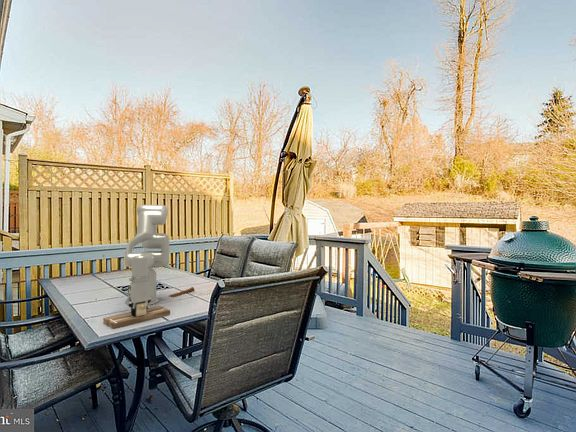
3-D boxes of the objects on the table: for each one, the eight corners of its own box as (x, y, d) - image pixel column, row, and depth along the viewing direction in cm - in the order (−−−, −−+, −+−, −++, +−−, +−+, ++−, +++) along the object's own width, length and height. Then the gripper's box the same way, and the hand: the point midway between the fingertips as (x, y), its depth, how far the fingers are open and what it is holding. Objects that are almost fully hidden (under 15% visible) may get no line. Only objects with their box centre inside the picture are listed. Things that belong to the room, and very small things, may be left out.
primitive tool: (173, 298, 205) (173, 292, 205) (167, 297, 208) (167, 291, 208) (195, 292, 222) (195, 287, 222) (189, 291, 225) (189, 286, 225)
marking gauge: (130, 313, 162) (130, 302, 162) (140, 311, 166) (140, 300, 166) (138, 317, 157) (138, 305, 157) (147, 314, 161) (148, 303, 161)
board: (103, 323, 156) (103, 318, 156) (158, 310, 178) (158, 305, 178) (113, 329, 148) (113, 323, 148) (170, 314, 171) (170, 310, 171)
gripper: (126, 282, 153) (125, 320, 153) (159, 277, 166) (158, 312, 166) (119, 280, 157) (118, 316, 157) (152, 275, 171) (151, 309, 171)
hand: (139, 314), depth 162 cm, fingers closed on marking gauge, 5 cm apart
